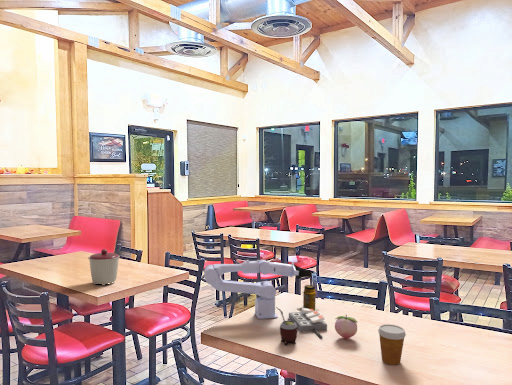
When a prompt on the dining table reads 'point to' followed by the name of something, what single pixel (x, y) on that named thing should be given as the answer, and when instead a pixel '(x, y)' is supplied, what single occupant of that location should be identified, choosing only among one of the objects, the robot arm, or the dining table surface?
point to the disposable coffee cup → (391, 343)
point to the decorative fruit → (346, 326)
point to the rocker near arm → (307, 310)
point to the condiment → (309, 298)
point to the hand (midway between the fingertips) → (309, 273)
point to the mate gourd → (288, 331)
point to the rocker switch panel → (307, 323)
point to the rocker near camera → (317, 319)
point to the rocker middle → (312, 314)
